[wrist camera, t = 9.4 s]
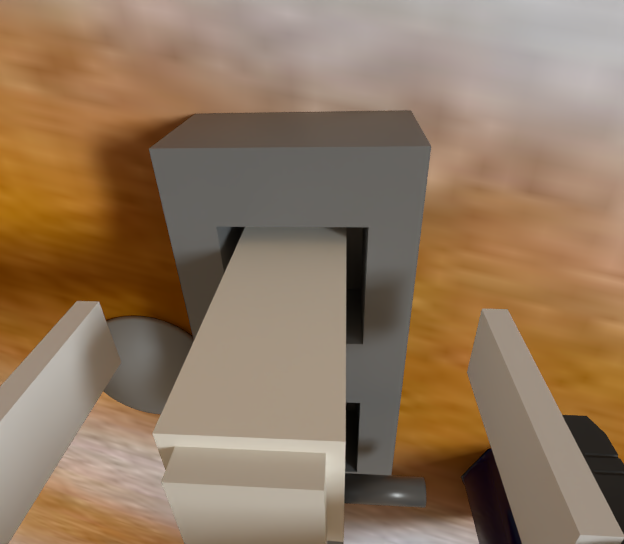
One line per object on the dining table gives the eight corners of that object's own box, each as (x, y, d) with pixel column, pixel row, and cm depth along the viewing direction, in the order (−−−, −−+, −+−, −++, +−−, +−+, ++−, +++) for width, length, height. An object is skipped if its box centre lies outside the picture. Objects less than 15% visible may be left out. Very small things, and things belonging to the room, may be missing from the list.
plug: (256, 202, 19) (136, 469, 8) (346, 202, 19) (345, 479, 8) (264, 277, 21) (178, 567, 10) (345, 278, 21) (343, 578, 10)
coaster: (107, 407, 29) (105, 412, 29) (68, 314, 25) (64, 318, 24) (223, 411, 28) (221, 416, 28) (203, 317, 24) (201, 321, 24)
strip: (247, 422, 29) (211, 573, 21) (195, 113, 18) (84, 196, 10) (397, 428, 28) (415, 587, 20) (435, 110, 17) (504, 196, 10)
